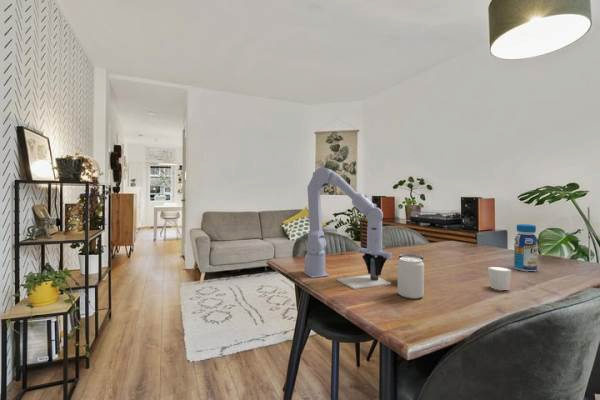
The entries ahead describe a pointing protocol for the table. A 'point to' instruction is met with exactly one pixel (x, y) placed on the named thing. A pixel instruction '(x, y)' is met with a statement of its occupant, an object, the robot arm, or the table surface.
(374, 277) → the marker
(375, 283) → the paper pad
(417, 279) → the beverage can
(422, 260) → the coffee mug
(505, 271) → the white cylinder
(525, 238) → the blue supplement bottle
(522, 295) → the table surface
